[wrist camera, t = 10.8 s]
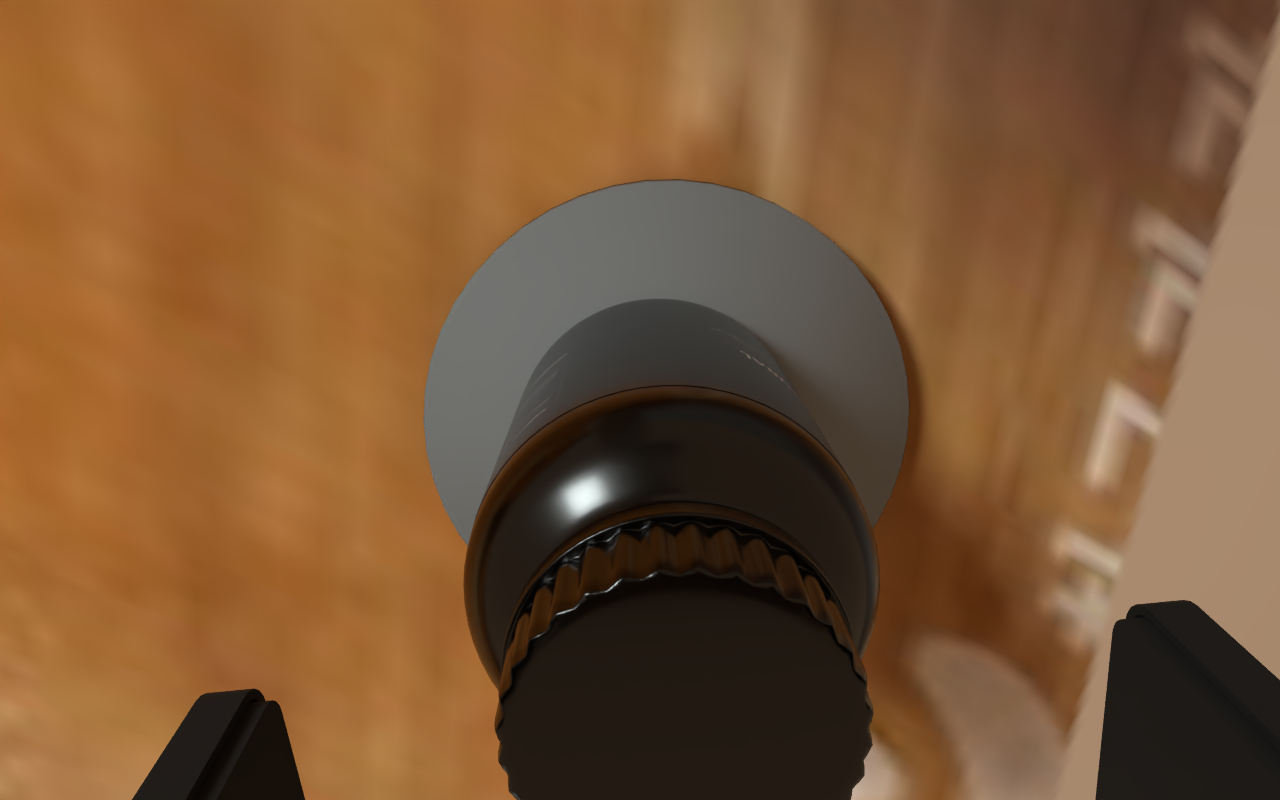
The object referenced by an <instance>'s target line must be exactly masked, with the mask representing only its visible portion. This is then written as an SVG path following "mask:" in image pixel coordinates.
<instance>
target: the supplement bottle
mask: <svg viewBox="0 0 1280 800" xmlns="http://www.w3.org/2000/svg"><path fill="white" fill-rule="evenodd" d="M879 590H880V578H879V560H878V553H877V546H876V542H875V538H874V534H873V530H872V527H871V524H870V521H869V519H868V516H867V513H866V511H865V508H864V506H863V504H862V502H861V499H860V497H859V495H858V493H857V491H856V489H855V487H854V485H853V483H852V481H851V480H850V478H849V476H848V475H847V473H846V471H845V470H844V468H843V466H842V465H841V463H840V461H839V460H838V458H837V456H836V455H835V453H834V452H833V450H832V448H831V447H830V445H829V443H828V442H827V440H826V438H825V437H824V435H823V433H822V432H821V430H820V429H819V427H818V425H817V424H816V422H815V420H814V419H813V417H812V415H811V414H810V412H809V410H808V409H807V407H806V406H805V404H804V402H803V401H802V399H801V397H800V396H799V394H798V392H797V391H796V389H795V387H794V386H793V384H792V383H791V381H790V379H789V378H788V376H787V375H786V373H785V371H784V370H783V368H782V367H781V365H780V364H779V363H778V361H777V360H776V358H775V357H774V356H773V354H772V353H771V352H770V351H769V349H768V348H767V347H766V346H765V345H764V344H763V343H762V342H761V341H760V340H759V339H758V338H757V337H756V336H755V335H754V334H753V333H752V332H750V331H749V330H748V329H747V328H746V327H744V326H743V325H741V324H740V323H738V322H737V321H735V320H734V319H732V318H730V317H729V316H727V315H725V314H723V313H721V312H719V311H716V310H714V309H712V308H709V307H706V306H703V305H700V304H697V303H693V302H688V301H683V300H675V299H643V300H635V301H630V302H625V303H621V304H618V305H615V306H611V307H608V308H606V309H604V310H601V311H599V312H596V313H595V314H593V315H591V316H589V317H587V318H585V319H584V320H582V321H580V322H579V323H577V324H576V325H574V326H573V327H572V328H570V329H569V330H568V331H567V332H566V333H564V334H563V335H562V336H561V337H560V338H559V339H558V340H557V341H556V342H555V343H554V344H553V345H552V346H551V347H550V349H549V350H548V351H547V352H546V354H545V355H544V356H543V357H542V359H541V360H540V362H539V363H538V365H537V366H536V368H535V369H534V371H533V373H532V375H531V377H530V379H529V381H528V383H527V385H526V388H525V390H524V392H523V394H522V397H521V399H520V402H519V405H518V407H517V410H516V412H515V415H514V418H513V420H512V423H511V425H510V428H509V431H508V433H507V436H506V438H505V441H504V444H503V446H502V449H501V451H500V454H499V457H498V459H497V462H496V464H495V467H494V470H493V472H492V475H491V478H490V480H489V483H488V485H487V488H486V491H485V493H484V496H483V498H482V501H481V504H480V506H479V509H478V512H477V514H476V517H475V521H474V524H473V528H472V532H471V535H470V539H469V543H468V548H467V554H466V560H465V566H464V602H465V609H466V615H467V621H468V626H469V629H470V633H471V637H472V640H473V643H474V646H475V648H476V651H477V653H478V656H479V658H480V660H481V662H482V664H483V666H484V668H485V670H486V672H487V674H488V676H489V677H490V679H491V681H492V682H493V684H494V685H495V687H496V688H497V690H498V691H499V703H498V707H497V712H496V717H495V731H496V734H497V737H498V739H499V741H500V745H499V750H498V761H499V763H500V765H501V766H502V768H503V769H504V770H505V771H506V773H507V774H508V787H509V792H510V793H511V794H512V795H513V796H514V797H515V798H516V799H517V800H851V796H852V789H853V788H854V787H855V785H856V784H857V783H859V782H860V780H861V779H862V778H863V777H864V759H865V757H866V756H867V754H868V753H869V751H870V749H871V747H872V745H873V744H872V737H871V733H870V729H869V725H870V723H871V720H872V717H873V705H872V702H871V699H870V697H869V694H868V692H867V675H866V671H865V669H864V666H863V664H862V661H861V660H862V657H863V655H864V653H865V651H866V648H867V646H868V643H869V640H870V637H871V634H872V631H873V627H874V624H875V619H876V614H877V609H878V601H879Z"/></svg>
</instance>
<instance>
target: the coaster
mask: <svg viewBox="0 0 1280 800" xmlns="http://www.w3.org/2000/svg"><path fill="white" fill-rule="evenodd" d="M643 299H675V300H683V301H688V302H693V303H697V304H700V305H703V306H706V307H709V308H712V309H714V310H716V311H719V312H721V313H723V314H725V315H727V316H729V317H730V318H732V319H734V320H735V321H737V322H738V323H740V324H741V325H743V326H744V327H746V328H747V329H748V330H749V331H750V332H752V333H753V334H754V335H755V336H756V337H757V338H758V339H759V340H760V341H761V342H762V343H763V344H764V345H765V346H766V347H767V348H768V349H769V351H770V352H771V353H772V354H773V356H774V357H775V358H776V360H777V361H778V363H779V364H780V365H781V367H782V368H783V370H784V371H785V373H786V375H787V376H788V378H789V379H790V381H791V383H792V384H793V386H794V387H795V389H796V391H797V392H798V394H799V396H800V397H801V399H802V401H803V402H804V404H805V406H806V407H807V409H808V410H809V412H810V414H811V415H812V417H813V419H814V420H815V422H816V424H817V425H818V427H819V429H820V430H821V432H822V433H823V435H824V437H825V438H826V440H827V442H828V443H829V445H830V447H831V448H832V450H833V452H834V453H835V455H836V456H837V458H838V460H839V461H840V463H841V465H842V466H843V468H844V470H845V471H846V473H847V475H848V476H849V478H850V480H851V481H852V483H853V485H854V487H855V489H856V491H857V493H858V495H859V497H860V499H861V502H862V504H863V506H864V508H865V511H866V513H867V516H868V519H869V521H870V524H871V527H872V529H873V527H874V526H875V524H876V523H877V521H878V520H879V518H880V516H881V514H882V512H883V510H884V508H885V506H886V504H887V502H888V500H889V498H890V496H891V494H892V491H893V488H894V485H895V482H896V480H897V477H898V474H899V471H900V468H901V464H902V459H903V455H904V450H905V445H906V440H907V431H908V417H909V399H908V384H907V375H906V370H905V366H904V361H903V356H902V352H901V347H900V345H899V342H898V339H897V336H896V334H895V331H894V328H893V325H892V323H891V320H890V318H889V316H888V314H887V312H886V310H885V308H884V306H883V305H882V303H881V301H880V299H879V297H878V295H877V293H876V292H875V290H874V289H873V287H872V286H871V285H870V283H869V282H868V281H867V279H866V278H865V277H864V275H863V274H862V272H861V271H860V270H859V268H858V267H857V266H856V265H855V264H854V263H853V262H852V261H851V260H850V258H849V257H848V256H847V255H846V254H845V253H844V252H843V251H842V250H841V249H840V248H839V247H838V246H837V245H836V244H835V243H834V242H832V241H831V240H830V239H829V238H827V237H826V236H825V235H823V234H822V233H821V232H820V231H818V230H817V229H816V228H814V227H813V226H812V225H810V224H809V223H808V222H806V221H804V220H803V219H801V218H799V217H798V216H796V215H794V214H792V213H791V212H789V211H787V210H785V209H784V208H782V207H780V206H778V205H777V204H775V203H773V202H770V201H768V200H765V199H763V198H760V197H758V196H755V195H753V194H750V193H748V192H745V191H742V190H738V189H734V188H730V187H726V186H722V185H718V184H714V183H708V182H699V181H690V180H681V179H671V180H644V181H637V182H631V183H625V184H619V185H613V186H609V187H606V188H603V189H599V190H596V191H593V192H589V193H586V194H583V195H580V196H578V197H576V198H574V199H571V200H569V201H567V202H565V203H563V204H560V205H558V206H556V207H554V208H552V209H550V210H548V211H547V212H545V213H544V214H542V215H540V216H539V217H537V218H536V219H534V220H533V221H531V222H529V223H528V224H526V225H525V226H523V227H522V228H521V229H520V230H518V231H517V232H516V233H515V234H514V235H512V236H511V237H510V238H509V239H508V240H506V241H505V242H504V243H503V244H502V245H501V246H499V247H498V248H497V250H496V251H495V252H494V253H493V254H492V255H491V256H490V257H489V258H488V259H487V261H486V262H485V263H484V264H483V265H482V266H481V267H480V268H479V269H478V271H477V272H476V273H475V274H474V275H473V277H472V278H471V279H470V281H469V282H468V284H467V285H466V287H465V288H464V290H463V291H462V293H461V294H460V296H459V297H458V299H457V300H456V301H455V303H454V305H453V307H452V309H451V311H450V313H449V315H448V317H447V319H446V321H445V323H444V325H443V327H442V329H441V331H440V334H439V337H438V340H437V343H436V346H435V349H434V352H433V355H432V358H431V362H430V367H429V373H428V378H427V383H426V389H425V405H424V429H425V439H426V449H427V455H428V459H429V463H430V467H431V471H432V475H433V480H434V483H435V485H436V488H437V490H438V493H439V495H440V498H441V500H442V503H443V506H444V508H445V510H446V512H447V513H448V515H449V517H450V519H451V521H452V522H453V524H454V526H455V528H456V530H457V531H458V533H459V535H460V536H461V537H462V539H463V540H464V541H465V543H466V544H467V546H468V543H469V539H470V535H471V532H472V528H473V524H474V521H475V517H476V514H477V512H478V509H479V506H480V504H481V501H482V498H483V496H484V493H485V491H486V488H487V485H488V483H489V480H490V478H491V475H492V472H493V470H494V467H495V464H496V462H497V459H498V457H499V454H500V451H501V449H502V446H503V444H504V441H505V438H506V436H507V433H508V431H509V428H510V425H511V423H512V420H513V418H514V415H515V412H516V410H517V407H518V405H519V402H520V399H521V397H522V394H523V392H524V390H525V388H526V385H527V383H528V381H529V379H530V377H531V375H532V373H533V371H534V369H535V368H536V366H537V365H538V363H539V362H540V360H541V359H542V357H543V356H544V355H545V354H546V352H547V351H548V350H549V349H550V347H551V346H552V345H553V344H554V343H555V342H556V341H557V340H558V339H559V338H560V337H561V336H562V335H563V334H564V333H566V332H567V331H568V330H569V329H570V328H572V327H573V326H574V325H576V324H577V323H579V322H580V321H582V320H584V319H585V318H587V317H589V316H591V315H593V314H595V313H596V312H599V311H601V310H604V309H606V308H608V307H611V306H615V305H618V304H621V303H625V302H630V301H635V300H643Z"/></svg>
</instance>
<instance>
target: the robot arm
mask: <svg viewBox="0 0 1280 800" xmlns="http://www.w3.org/2000/svg"><path fill="white" fill-rule="evenodd" d="M132 800H305V797H304V794H303V790H302V786H301V782H300V778H299V775H298V771H297V767H296V763H295V760H294V756H293V752H292V748H291V744H290V741H289V737H288V733H287V729H286V726H285V722H284V718H283V714H282V711H281V708H280V705H279V704H278V703H277V702H276V701H273V700H272V701H265V699H264V696H263V695H262V693H261V692H260V691H259V690H257V689H246V690H235V691H225V692H214V693H206V694H203V695H201V696H200V697H199V698H198V699H197V701H196V702H195V703H194V705H193V706H192V708H191V709H190V711H189V712H188V714H187V716H186V717H185V719H184V720H183V722H182V723H181V725H180V726H179V728H178V729H177V731H176V733H175V734H174V736H173V737H172V739H171V740H170V742H169V743H168V745H167V746H166V748H165V750H164V751H163V753H162V754H161V756H160V757H159V759H158V760H157V762H156V763H155V765H154V767H153V768H152V770H151V771H150V773H149V774H148V776H147V777H146V779H145V780H144V782H143V784H142V785H141V787H140V788H139V790H138V791H137V793H136V794H135V796H134V797H133V799H132ZM1096 800H1280V680H1279V679H1278V678H1277V677H1276V676H1275V675H1273V674H1272V673H1271V672H1270V671H1269V670H1268V669H1267V668H1266V667H1264V666H1263V665H1262V664H1261V663H1260V662H1259V661H1258V660H1257V659H1256V658H1254V656H1252V655H1251V654H1250V653H1249V652H1248V651H1247V650H1246V649H1245V648H1244V647H1242V646H1241V645H1240V644H1239V643H1238V642H1237V641H1236V640H1235V639H1234V638H1233V637H1231V636H1230V635H1229V634H1228V633H1227V632H1226V631H1225V630H1224V629H1223V628H1221V627H1220V626H1219V625H1218V624H1217V623H1216V622H1215V621H1214V620H1213V619H1211V618H1210V617H1209V616H1208V615H1207V614H1206V613H1205V612H1204V611H1202V609H1200V608H1199V607H1198V606H1197V605H1195V604H1194V603H1192V602H1191V601H1186V600H1179V601H1169V602H1158V603H1148V604H1137V605H1134V606H1132V607H1131V608H1130V610H1129V611H1128V613H1127V616H1126V619H1121V620H1119V621H1117V622H1116V623H1115V625H1114V628H1113V632H1112V642H1111V652H1110V662H1109V672H1108V682H1107V692H1106V701H1105V711H1104V721H1103V731H1102V741H1101V751H1100V762H1099V771H1098V781H1097V790H1096Z"/></svg>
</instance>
